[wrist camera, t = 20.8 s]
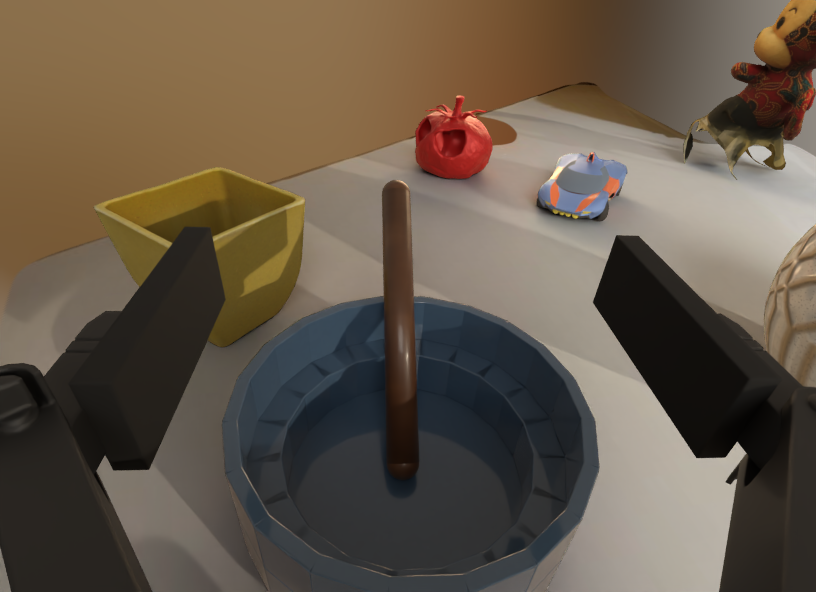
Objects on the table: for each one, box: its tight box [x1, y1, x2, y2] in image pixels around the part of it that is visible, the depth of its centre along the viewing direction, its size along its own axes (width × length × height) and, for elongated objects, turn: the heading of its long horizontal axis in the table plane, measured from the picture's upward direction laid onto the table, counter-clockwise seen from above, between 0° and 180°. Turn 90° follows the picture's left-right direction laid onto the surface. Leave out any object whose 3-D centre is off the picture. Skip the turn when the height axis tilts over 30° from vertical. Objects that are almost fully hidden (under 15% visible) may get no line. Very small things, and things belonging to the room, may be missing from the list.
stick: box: [382, 180, 419, 480], centre depth 24 cm, size 2×2×16 cm
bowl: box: [222, 296, 599, 592], centre depth 21 cm, size 15×15×6 cm
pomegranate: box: [415, 96, 492, 179], centre depth 58 cm, size 10×10×9 cm
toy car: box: [537, 152, 627, 221], centre depth 53 cm, size 8×15×5 cm, turn 150°
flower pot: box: [94, 167, 305, 347], centre depth 30 cm, size 9×9×9 cm
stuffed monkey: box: [683, 0, 816, 180], centre depth 59 cm, size 15×17×25 cm
